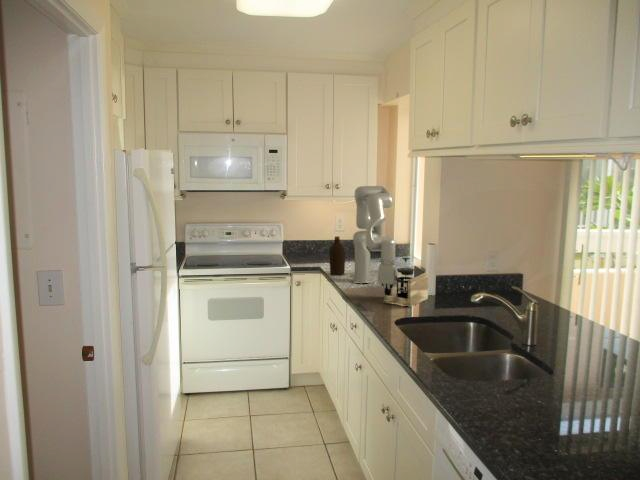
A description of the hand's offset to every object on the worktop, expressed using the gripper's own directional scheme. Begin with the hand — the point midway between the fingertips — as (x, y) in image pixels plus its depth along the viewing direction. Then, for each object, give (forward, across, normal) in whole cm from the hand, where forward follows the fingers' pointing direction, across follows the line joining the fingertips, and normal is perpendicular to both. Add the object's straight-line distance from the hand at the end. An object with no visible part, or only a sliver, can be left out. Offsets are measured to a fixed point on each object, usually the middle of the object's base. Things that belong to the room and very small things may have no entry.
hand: (387, 295), depth 263 cm
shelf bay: (+1, +10, 0) cm, 11 cm away
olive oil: (+2, -56, +35) cm, 65 cm away
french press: (+1, +11, 0) cm, 11 cm away
